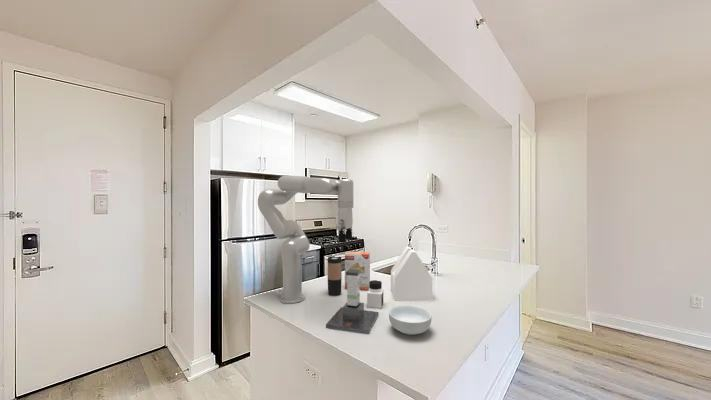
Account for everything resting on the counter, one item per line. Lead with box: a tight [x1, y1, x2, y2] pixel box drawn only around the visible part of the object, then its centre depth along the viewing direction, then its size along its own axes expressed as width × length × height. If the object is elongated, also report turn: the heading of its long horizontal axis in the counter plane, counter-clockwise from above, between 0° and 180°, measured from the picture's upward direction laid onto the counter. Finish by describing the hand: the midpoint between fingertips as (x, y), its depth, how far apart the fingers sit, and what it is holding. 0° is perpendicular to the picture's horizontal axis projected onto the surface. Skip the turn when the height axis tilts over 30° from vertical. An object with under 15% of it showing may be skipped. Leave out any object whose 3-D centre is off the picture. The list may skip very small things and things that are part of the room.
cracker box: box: [344, 251, 371, 291], centre depth 163 cm, size 14×6×21 cm, turn 81°
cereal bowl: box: [388, 304, 433, 336], centre depth 112 cm, size 17×17×7 cm
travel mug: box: [327, 255, 343, 297], centre depth 154 cm, size 8×8×20 cm
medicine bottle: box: [366, 279, 384, 309], centre depth 138 cm, size 7×7×12 cm
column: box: [346, 269, 361, 306], centre depth 120 cm, size 5×5×14 cm
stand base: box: [325, 302, 380, 335], centre depth 120 cm, size 18×18×7 cm
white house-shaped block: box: [390, 246, 433, 302], centre depth 152 cm, size 19×15×25 cm
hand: (345, 240), depth 135 cm, fingers open, 9 cm apart
